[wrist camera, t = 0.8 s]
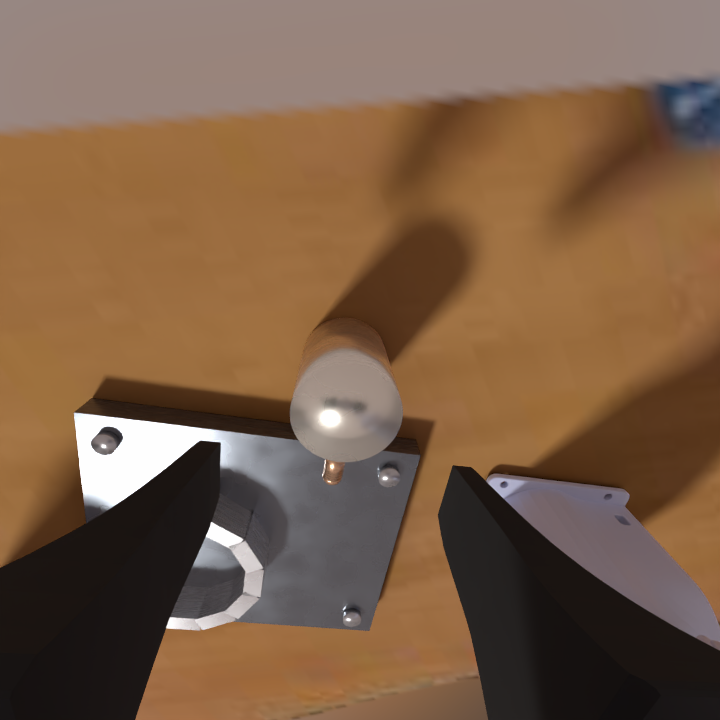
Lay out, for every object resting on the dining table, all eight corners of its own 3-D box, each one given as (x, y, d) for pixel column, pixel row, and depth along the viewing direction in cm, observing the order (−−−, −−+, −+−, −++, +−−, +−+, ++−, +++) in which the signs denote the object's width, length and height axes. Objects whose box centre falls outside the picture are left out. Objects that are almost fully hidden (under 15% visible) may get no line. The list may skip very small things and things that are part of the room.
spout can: (393, 324, 20) (414, 373, 14) (370, 428, 22) (380, 504, 17) (308, 311, 20) (297, 356, 14) (294, 418, 22) (278, 493, 16)
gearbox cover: (415, 439, 23) (428, 479, 20) (367, 609, 28) (371, 662, 25) (91, 398, 21) (46, 435, 18) (108, 590, 26) (76, 645, 23)
